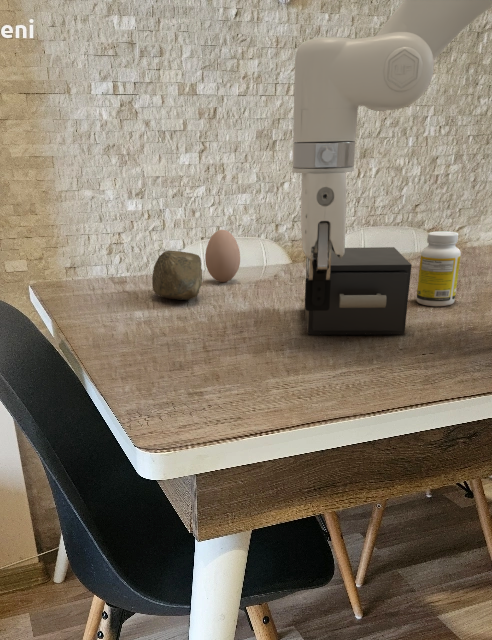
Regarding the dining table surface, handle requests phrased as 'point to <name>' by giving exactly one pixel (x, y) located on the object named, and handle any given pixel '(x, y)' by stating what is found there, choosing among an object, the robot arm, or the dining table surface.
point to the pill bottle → (439, 269)
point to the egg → (222, 256)
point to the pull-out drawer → (364, 302)
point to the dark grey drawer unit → (366, 262)
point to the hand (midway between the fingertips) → (316, 309)
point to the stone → (177, 275)
